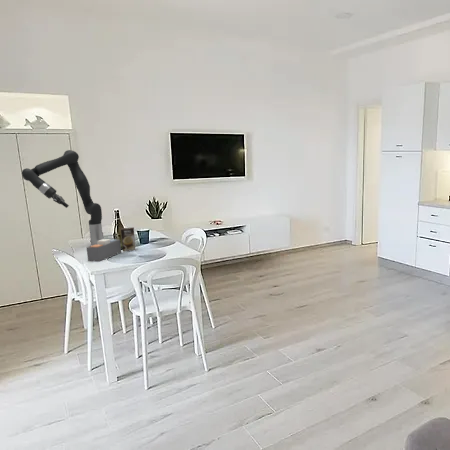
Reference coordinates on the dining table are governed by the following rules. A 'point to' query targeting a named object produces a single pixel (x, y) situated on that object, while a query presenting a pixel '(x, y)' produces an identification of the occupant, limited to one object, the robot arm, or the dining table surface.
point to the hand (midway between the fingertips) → (67, 206)
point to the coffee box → (128, 239)
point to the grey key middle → (103, 242)
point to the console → (103, 251)
